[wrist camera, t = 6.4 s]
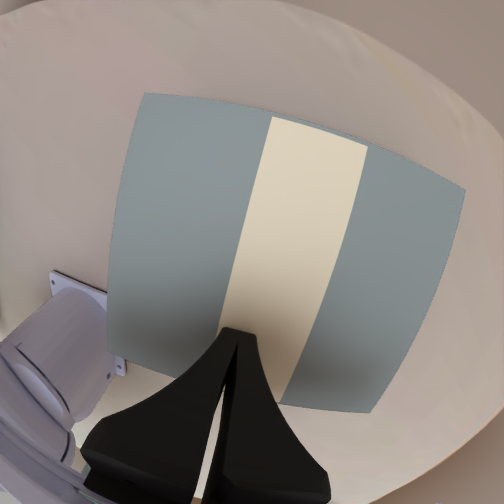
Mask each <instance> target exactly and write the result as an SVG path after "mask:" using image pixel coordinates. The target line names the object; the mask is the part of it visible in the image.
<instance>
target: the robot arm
mask: <svg viewBox="0 0 504 504" xmlns="http://www.w3.org/2000/svg"><path fill="white" fill-rule="evenodd" d="M49 279H50V286H51V292H52V298H50V299H49V300H48V301H47V302H46V303H44V304H43V305H42V306H41V307H40V308H39V309H37V310H36V311H35V312H34V313H33V314H32V315H30V316H29V317H28V318H27V319H26V320H25V321H24V322H22V323H21V324H20V325H19V326H18V327H17V328H16V329H15V330H14V331H13V332H11V333H10V334H9V335H8V336H7V337H6V338H5V339H4V340H3V341H2V342H0V491H2V492H5V493H9V494H10V495H11V496H12V497H13V498H14V499H15V500H16V501H17V502H19V503H20V504H96V503H94V502H92V501H90V500H88V499H87V498H85V497H83V496H82V495H80V493H79V491H80V492H82V493H84V494H86V495H88V496H90V497H91V498H93V499H95V500H97V501H99V502H101V503H103V504H190V503H191V501H192V499H193V496H194V493H195V491H196V487H197V483H198V479H199V475H200V471H201V467H202V463H203V458H204V454H205V450H206V446H207V441H208V437H209V433H210V429H211V425H212V421H213V417H214V413H215V410H216V408H217V405H218V402H219V400H220V397H221V394H222V391H223V389H224V386H225V389H224V397H223V404H222V412H221V419H220V427H219V433H218V438H217V442H216V446H215V450H214V454H213V458H212V463H211V466H210V470H209V474H208V478H207V482H206V486H205V490H204V494H203V497H202V502H201V504H327V503H328V502H329V501H330V500H331V488H330V483H329V478H328V474H327V472H326V471H325V470H324V469H323V468H322V467H321V466H320V465H319V464H318V463H317V462H316V461H315V460H314V458H313V457H312V456H311V455H310V454H309V453H308V451H307V450H306V449H305V448H304V446H303V445H302V444H301V443H300V441H299V440H298V438H297V437H296V435H295V434H294V432H293V431H292V429H291V428H290V427H289V425H288V423H287V422H286V420H285V418H284V417H283V415H282V413H281V411H280V409H279V407H278V405H277V403H276V401H275V399H274V397H273V394H272V392H271V389H270V387H269V384H268V382H267V379H266V376H265V373H264V370H263V366H262V363H261V359H260V355H259V350H258V344H257V337H256V335H255V334H252V333H248V332H244V331H240V330H236V329H232V328H229V327H223V328H222V329H221V331H220V333H219V335H218V336H217V338H216V339H215V341H214V342H213V343H212V344H211V346H210V347H209V348H208V349H207V350H206V351H205V353H204V354H203V355H202V356H201V357H200V358H199V359H198V360H197V361H196V362H195V363H194V364H193V365H192V366H191V367H190V368H189V369H188V370H186V371H185V372H184V373H183V374H182V375H181V376H179V377H178V378H177V379H176V380H174V381H173V382H172V383H170V384H169V385H167V386H166V387H165V388H163V389H162V390H160V391H159V392H157V393H155V394H154V395H152V396H150V397H149V398H147V399H145V400H143V401H141V402H139V403H137V404H135V405H133V406H132V407H129V408H127V409H125V410H122V411H120V412H117V413H115V414H112V415H110V416H107V417H104V418H102V419H101V420H100V421H99V422H98V423H97V424H96V425H95V427H94V428H93V429H92V430H91V432H90V433H89V434H88V436H87V438H86V440H85V442H84V444H83V445H82V447H81V449H80V452H81V454H82V456H83V458H84V459H85V461H86V462H87V463H88V465H89V466H90V467H91V469H90V471H89V473H88V475H87V477H86V476H84V475H82V474H81V473H79V472H77V471H75V470H73V469H72V468H70V467H71V465H72V463H73V460H74V456H75V448H76V442H75V437H74V434H73V432H72V431H71V429H72V427H73V425H74V424H75V423H76V422H79V421H82V420H84V419H85V418H87V417H88V416H89V415H90V414H91V413H92V411H93V409H94V408H95V406H96V404H97V403H98V401H99V400H100V398H101V396H102V395H103V393H104V391H105V390H106V388H107V387H108V385H109V383H110V382H111V380H112V379H113V377H114V376H115V374H117V375H119V376H122V377H123V376H125V375H126V367H125V359H123V358H121V357H118V356H116V355H114V354H111V353H109V352H107V334H106V316H107V293H105V292H102V291H99V290H97V289H95V288H92V287H90V286H87V285H85V284H82V283H80V282H78V281H75V280H73V279H71V278H68V277H66V276H64V275H62V274H59V273H57V272H55V271H52V272H50V273H49ZM78 490H79V491H78ZM435 504H442V502H438V503H435Z"/></svg>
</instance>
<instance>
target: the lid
mask: <svg viewBox="0 0 504 504" xmlns="http://www.w3.org/2000/svg"><path fill="white" fill-rule="evenodd" d="M465 191H466V190H465V189H463V188H462V187H460V186H458V185H456V184H455V183H453V182H451V181H449V180H448V179H446V178H444V177H442V176H440V175H438V174H436V173H434V172H433V171H431V170H429V169H427V168H425V167H423V166H421V165H419V164H417V163H415V162H412V161H410V160H408V159H406V158H404V157H402V156H399V155H397V154H395V153H393V152H390V151H388V150H386V149H383V148H381V147H379V146H376V145H374V144H371V143H369V142H366V141H364V140H361V139H358V138H356V137H353V136H350V135H347V134H345V133H342V132H339V131H336V130H333V129H330V128H327V127H324V126H321V125H317V124H314V123H311V122H308V121H304V120H301V119H297V118H294V117H290V116H286V115H282V114H278V113H274V112H270V111H266V110H262V109H257V108H253V107H248V106H243V105H238V104H233V103H227V102H221V101H215V100H209V99H202V98H195V97H187V96H178V95H168V94H156V93H144V95H143V98H142V101H141V104H140V107H139V111H138V114H137V117H136V121H135V124H134V128H133V131H132V135H131V139H130V143H129V146H128V151H127V155H126V159H125V163H124V168H123V172H122V177H121V182H120V187H119V193H118V198H117V204H116V210H115V217H114V224H113V231H112V239H111V248H110V259H109V271H108V286H107V316H106V334H107V352H109V353H111V354H114V355H116V356H118V357H121V358H123V359H125V360H128V361H130V362H133V363H135V364H138V365H141V366H143V367H146V368H148V369H151V370H154V371H157V372H159V373H162V374H165V375H168V376H171V377H174V378H178V377H179V376H181V375H182V374H183V373H184V372H185V371H186V370H188V369H189V368H190V367H191V366H192V365H193V364H194V363H195V362H196V361H197V360H198V359H199V358H200V357H201V356H202V355H203V354H204V353H205V351H206V350H207V349H208V348H209V347H210V346H211V344H212V343H213V342H214V341H215V339H216V338H217V336H218V335H219V333H220V331H221V329H222V328H223V327H229V328H232V329H236V330H240V331H244V332H248V333H252V334H255V335H256V337H257V344H258V350H259V355H260V359H261V363H262V366H263V370H264V373H265V376H266V379H267V382H268V384H269V387H270V389H271V392H272V394H273V397H274V399H275V401H276V403H278V404H284V405H290V406H296V407H303V408H311V409H319V410H329V411H340V412H353V413H370V412H371V411H372V409H373V408H374V406H375V405H376V404H377V402H378V401H379V399H380V398H381V396H382V395H383V393H384V391H385V390H386V388H387V387H388V385H389V383H390V382H391V380H392V379H393V377H394V375H395V374H396V372H397V370H398V368H399V367H400V365H401V363H402V361H403V360H404V358H405V356H406V354H407V352H408V350H409V349H410V347H411V345H412V343H413V341H414V339H415V337H416V335H417V333H418V331H419V329H420V327H421V324H422V322H423V320H424V318H425V316H426V314H427V311H428V309H429V307H430V304H431V302H432V300H433V297H434V295H435V292H436V290H437V287H438V285H439V282H440V279H441V277H442V274H443V271H444V268H445V265H446V262H447V259H448V256H449V253H450V250H451V247H452V244H453V240H454V237H455V233H456V229H457V226H458V222H459V218H460V214H461V210H462V205H463V201H464V196H465ZM224 389H225V386H224ZM224 389H223V391H222V392H224Z"/></svg>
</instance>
